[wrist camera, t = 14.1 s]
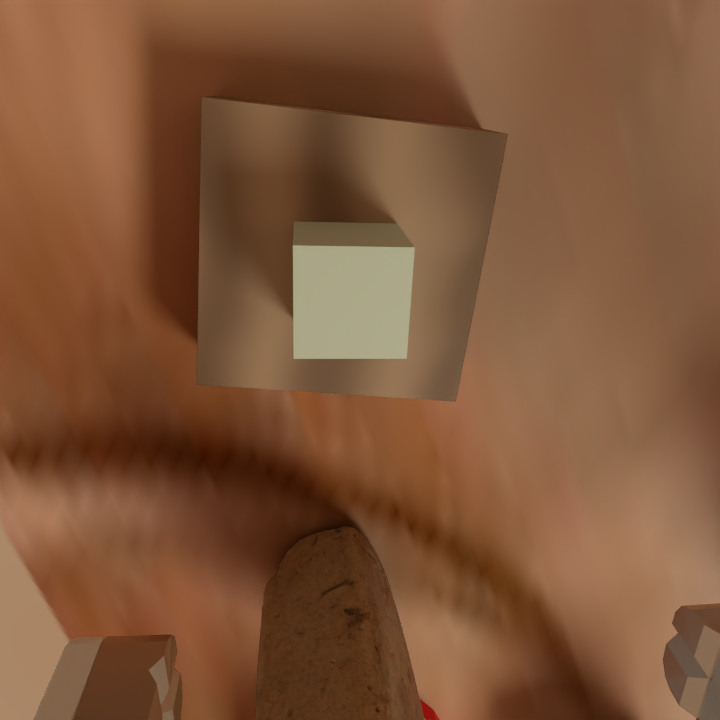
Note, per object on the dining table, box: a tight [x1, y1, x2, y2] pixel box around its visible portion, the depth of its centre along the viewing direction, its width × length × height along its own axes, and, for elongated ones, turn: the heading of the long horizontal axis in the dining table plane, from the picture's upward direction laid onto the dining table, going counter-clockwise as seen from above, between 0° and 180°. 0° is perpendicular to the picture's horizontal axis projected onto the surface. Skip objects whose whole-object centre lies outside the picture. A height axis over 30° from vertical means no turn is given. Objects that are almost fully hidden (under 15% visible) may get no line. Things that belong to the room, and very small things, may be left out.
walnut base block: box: [197, 96, 508, 401], centre depth 33 cm, size 14×14×5 cm
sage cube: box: [293, 222, 415, 359], centre depth 29 cm, size 5×5×5 cm
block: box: [255, 526, 425, 720], centre depth 35 cm, size 11×8×20 cm
